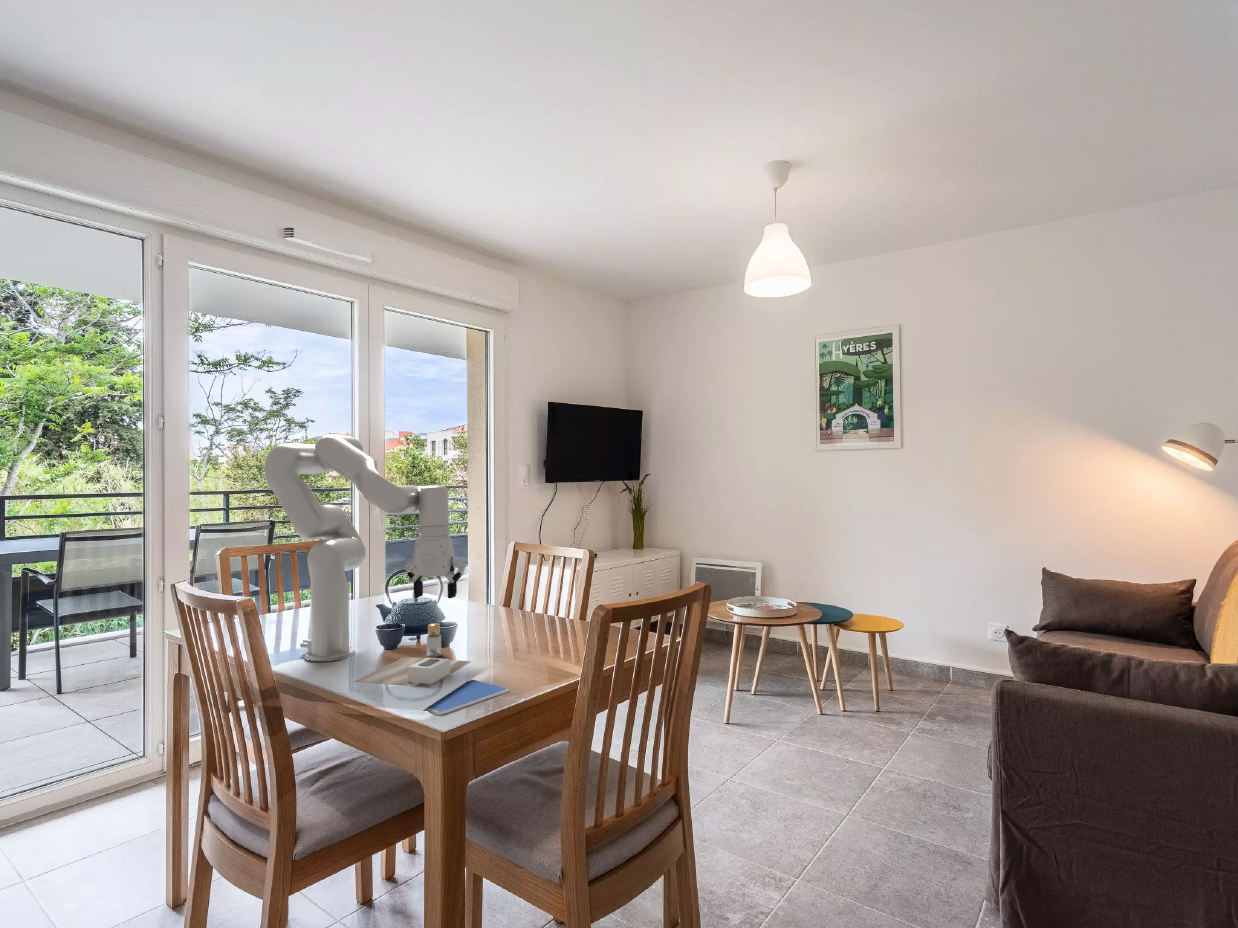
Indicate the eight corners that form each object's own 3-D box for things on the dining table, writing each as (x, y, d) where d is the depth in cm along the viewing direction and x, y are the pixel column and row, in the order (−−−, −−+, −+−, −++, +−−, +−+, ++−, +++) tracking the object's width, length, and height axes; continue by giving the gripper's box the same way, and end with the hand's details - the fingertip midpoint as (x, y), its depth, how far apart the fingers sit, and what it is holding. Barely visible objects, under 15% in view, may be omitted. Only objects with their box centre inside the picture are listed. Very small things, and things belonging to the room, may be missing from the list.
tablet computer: (473, 683, 157) (473, 677, 157) (510, 693, 149) (510, 687, 149) (403, 706, 141) (403, 700, 141) (440, 719, 134) (440, 712, 134)
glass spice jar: (424, 662, 173) (424, 625, 174) (431, 658, 177) (431, 622, 177) (436, 662, 172) (436, 626, 173) (443, 659, 176) (443, 623, 176)
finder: (408, 681, 152) (407, 665, 152) (427, 671, 159) (427, 656, 159) (430, 684, 150) (430, 667, 150) (449, 673, 158) (449, 658, 158)
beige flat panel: (354, 687, 152) (354, 681, 152) (404, 662, 173) (404, 656, 173) (428, 693, 148) (428, 686, 148) (471, 667, 168) (471, 661, 168)
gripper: (397, 533, 174) (398, 599, 173) (457, 533, 170) (458, 600, 169) (412, 531, 181) (413, 594, 181) (470, 531, 177) (471, 595, 177)
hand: (435, 597), depth 175 cm, fingers open, 9 cm apart
